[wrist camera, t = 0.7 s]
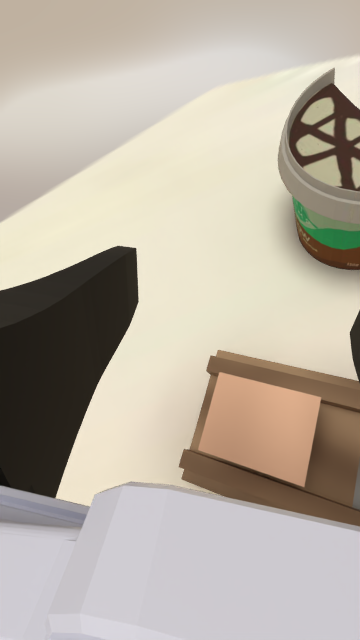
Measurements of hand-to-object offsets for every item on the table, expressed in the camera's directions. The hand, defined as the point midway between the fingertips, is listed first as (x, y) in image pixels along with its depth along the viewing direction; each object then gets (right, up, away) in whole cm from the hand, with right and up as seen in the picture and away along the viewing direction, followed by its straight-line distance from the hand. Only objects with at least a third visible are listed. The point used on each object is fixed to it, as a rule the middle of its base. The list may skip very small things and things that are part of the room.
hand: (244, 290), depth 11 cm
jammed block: (+4, -9, +13) cm, 16 cm away
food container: (+10, +6, +19) cm, 22 cm away
